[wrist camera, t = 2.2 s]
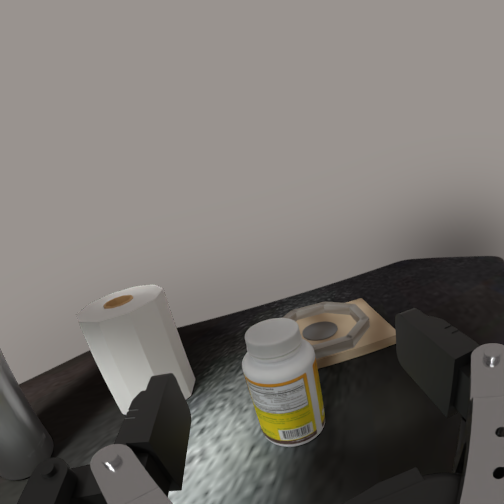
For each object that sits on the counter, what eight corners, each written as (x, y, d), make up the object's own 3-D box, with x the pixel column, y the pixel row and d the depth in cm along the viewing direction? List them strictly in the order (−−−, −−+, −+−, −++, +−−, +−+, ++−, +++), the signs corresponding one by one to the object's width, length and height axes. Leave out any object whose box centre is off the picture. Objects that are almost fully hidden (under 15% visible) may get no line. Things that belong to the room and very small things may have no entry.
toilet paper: (150, 365, 41) (120, 285, 38) (211, 373, 36) (180, 281, 34) (102, 406, 32) (59, 318, 29) (163, 427, 27) (115, 323, 25)
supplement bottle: (292, 400, 28) (271, 307, 26) (338, 418, 24) (325, 318, 22) (250, 433, 25) (218, 338, 23) (296, 459, 21) (271, 359, 18)
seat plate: (263, 382, 32) (258, 365, 32) (255, 334, 44) (251, 319, 43) (399, 342, 32) (398, 324, 32) (362, 305, 44) (360, 290, 44)
